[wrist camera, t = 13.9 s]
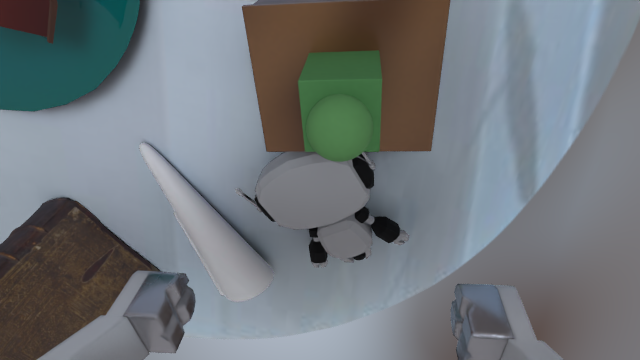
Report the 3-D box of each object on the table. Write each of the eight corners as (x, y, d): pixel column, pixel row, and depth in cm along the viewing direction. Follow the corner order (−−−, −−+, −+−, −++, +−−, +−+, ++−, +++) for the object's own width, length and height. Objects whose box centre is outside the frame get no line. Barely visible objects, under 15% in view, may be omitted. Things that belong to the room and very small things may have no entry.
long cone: (201, 116, 36) (281, 262, 44) (153, 132, 39) (237, 268, 47) (168, 142, 32) (264, 300, 40) (115, 158, 34) (216, 304, 42)
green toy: (379, 49, 23) (384, 102, 17) (377, 115, 26) (381, 182, 20) (308, 52, 24) (288, 104, 17) (313, 116, 27) (297, 181, 20)
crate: (435, -20, 26) (451, -5, 21) (421, 115, 32) (431, 151, 27) (263, -10, 28) (241, 6, 23) (280, 117, 34) (266, 151, 29)
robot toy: (413, 220, 40) (352, 110, 32) (419, 253, 37) (352, 139, 29) (315, 251, 44) (239, 160, 36) (312, 283, 41) (228, 191, 33)
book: (37, 202, 43) (-251, 457, 23) (79, 184, 41) (-200, 450, 21) (134, 289, 51) (-15, 533, 31) (173, 279, 49) (40, 534, 29)
